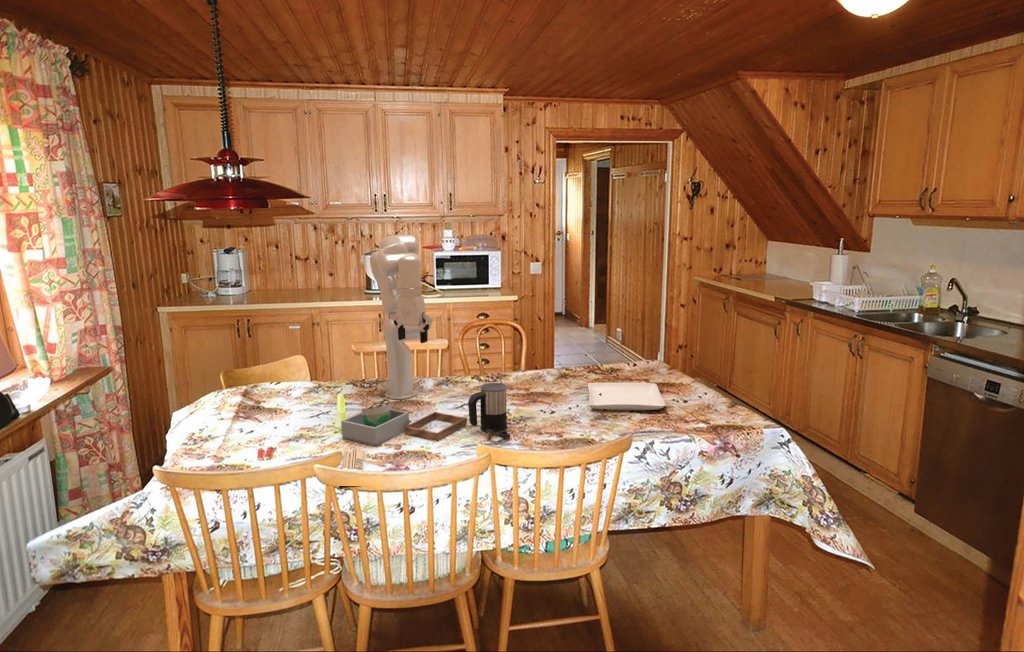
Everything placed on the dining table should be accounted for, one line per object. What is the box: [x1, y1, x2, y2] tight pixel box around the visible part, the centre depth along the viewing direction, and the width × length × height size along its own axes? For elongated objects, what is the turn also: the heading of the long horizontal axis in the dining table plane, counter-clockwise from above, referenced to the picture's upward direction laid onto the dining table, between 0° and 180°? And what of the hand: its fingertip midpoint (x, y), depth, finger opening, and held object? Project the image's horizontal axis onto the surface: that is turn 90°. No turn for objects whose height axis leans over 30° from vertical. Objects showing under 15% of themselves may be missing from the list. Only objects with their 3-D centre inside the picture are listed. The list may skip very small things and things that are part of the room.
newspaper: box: [341, 449, 364, 471], centre depth 183 cm, size 24×7×2 cm, turn 12°
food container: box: [360, 397, 393, 427], centre depth 207 cm, size 12×6×10 cm, turn 155°
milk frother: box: [467, 382, 511, 440], centre depth 207 cm, size 14×16×15 cm
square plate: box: [587, 382, 666, 411], centre depth 238 cm, size 27×27×4 cm
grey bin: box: [340, 408, 410, 447], centre depth 209 cm, size 15×17×6 cm
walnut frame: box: [404, 411, 468, 442], centre depth 212 cm, size 14×17×2 cm
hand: (412, 340), depth 218 cm, fingers open, 9 cm apart
